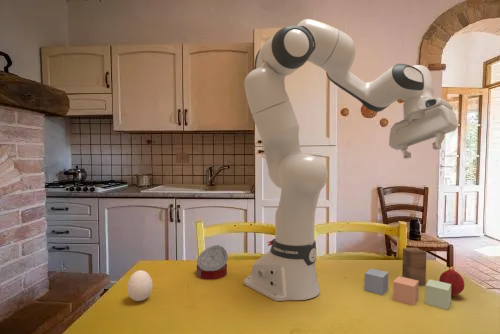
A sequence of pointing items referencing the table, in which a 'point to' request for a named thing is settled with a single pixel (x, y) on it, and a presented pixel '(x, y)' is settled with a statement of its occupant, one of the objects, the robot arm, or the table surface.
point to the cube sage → (438, 294)
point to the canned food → (212, 263)
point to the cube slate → (376, 281)
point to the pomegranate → (453, 281)
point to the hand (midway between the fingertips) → (421, 153)
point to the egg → (139, 285)
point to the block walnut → (414, 265)
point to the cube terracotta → (405, 290)
